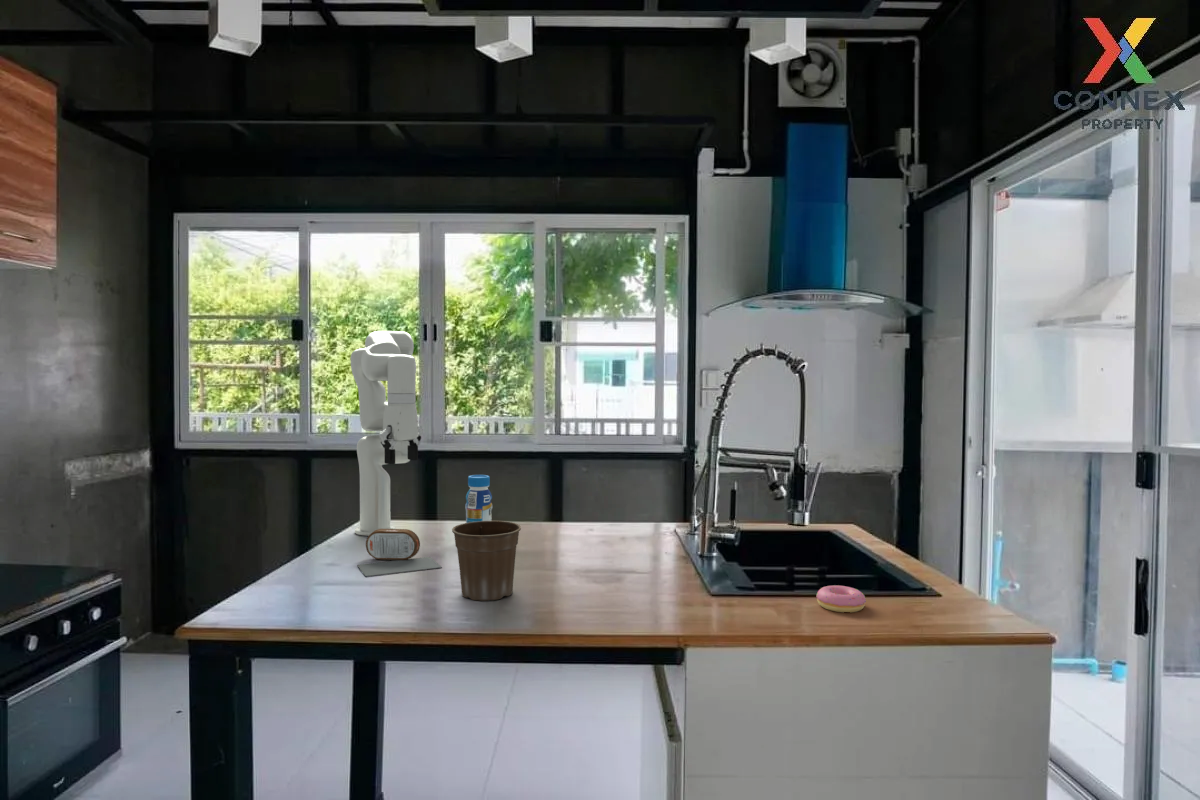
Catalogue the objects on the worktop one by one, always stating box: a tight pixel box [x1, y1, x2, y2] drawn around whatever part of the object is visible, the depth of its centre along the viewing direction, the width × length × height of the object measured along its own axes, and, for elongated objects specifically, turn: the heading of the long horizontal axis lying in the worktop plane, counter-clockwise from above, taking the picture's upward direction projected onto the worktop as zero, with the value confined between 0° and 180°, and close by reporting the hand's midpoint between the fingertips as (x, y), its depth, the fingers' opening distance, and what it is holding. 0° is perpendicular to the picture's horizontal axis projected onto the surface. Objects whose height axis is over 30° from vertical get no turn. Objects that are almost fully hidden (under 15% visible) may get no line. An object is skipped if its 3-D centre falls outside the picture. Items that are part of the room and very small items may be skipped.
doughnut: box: [815, 584, 867, 613], centre depth 174 cm, size 11×11×4 cm
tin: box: [365, 528, 421, 561], centre depth 211 cm, size 15×3×8 cm, turn 84°
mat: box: [356, 556, 443, 577], centre depth 204 cm, size 12×20×1 cm, turn 118°
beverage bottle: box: [464, 474, 493, 523], centre depth 237 cm, size 8×8×20 cm
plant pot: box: [451, 520, 522, 602], centre depth 180 cm, size 16×16×16 cm
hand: (401, 461), depth 208 cm, fingers open, 9 cm apart
